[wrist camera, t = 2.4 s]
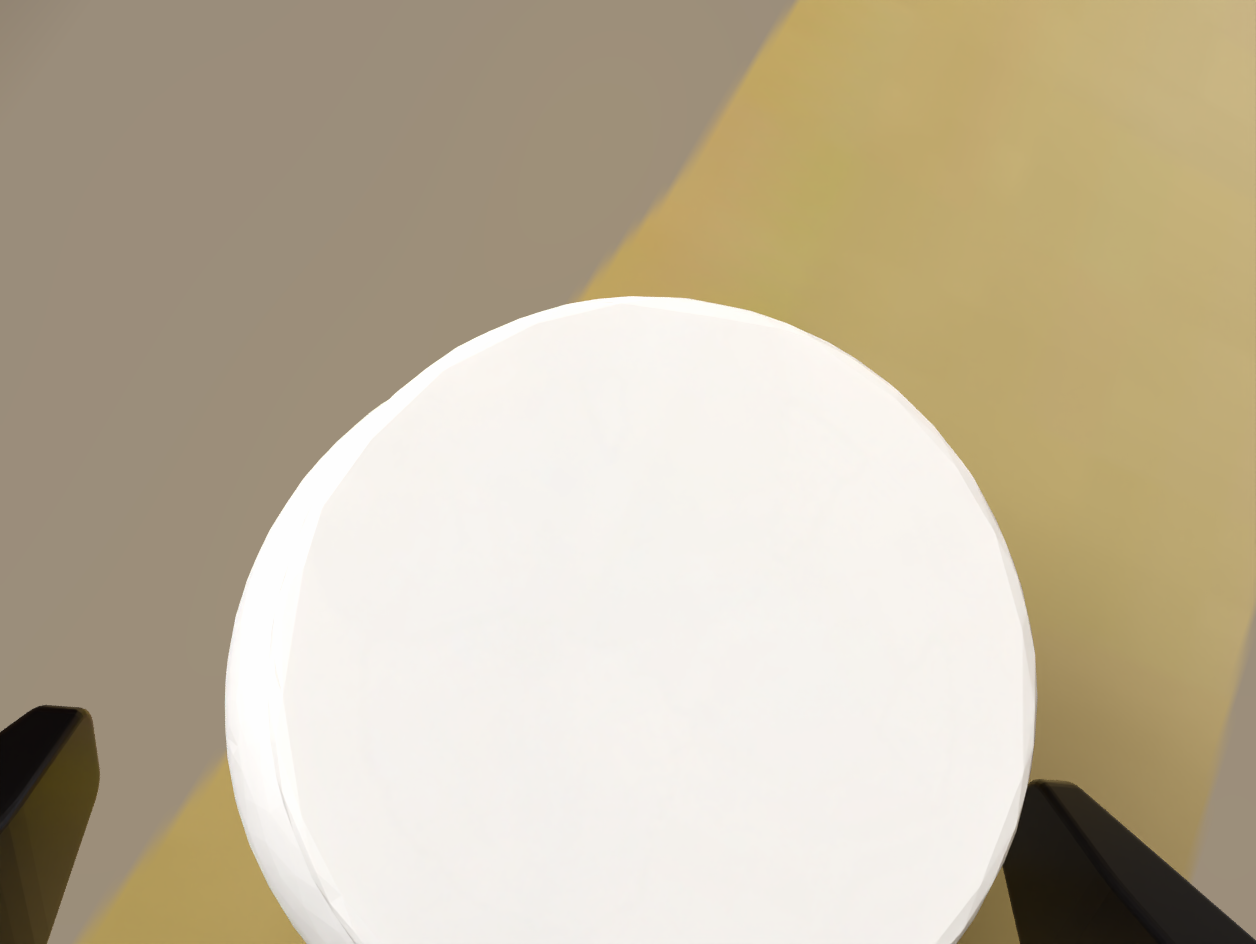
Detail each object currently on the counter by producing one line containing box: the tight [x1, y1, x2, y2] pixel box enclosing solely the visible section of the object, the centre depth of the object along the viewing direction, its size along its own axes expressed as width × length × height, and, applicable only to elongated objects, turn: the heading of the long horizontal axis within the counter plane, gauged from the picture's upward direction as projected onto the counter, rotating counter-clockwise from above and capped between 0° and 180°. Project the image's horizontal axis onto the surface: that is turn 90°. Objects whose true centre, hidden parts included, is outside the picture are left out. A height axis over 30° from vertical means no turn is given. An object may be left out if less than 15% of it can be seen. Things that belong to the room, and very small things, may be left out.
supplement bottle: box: [225, 296, 1037, 944], centre depth 12 cm, size 7×7×13 cm
